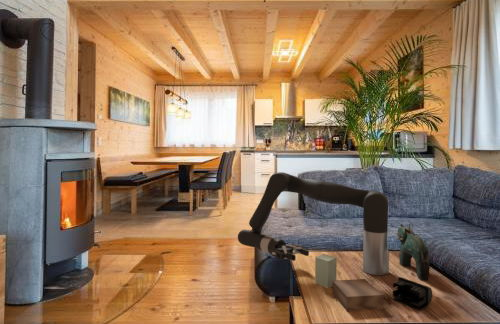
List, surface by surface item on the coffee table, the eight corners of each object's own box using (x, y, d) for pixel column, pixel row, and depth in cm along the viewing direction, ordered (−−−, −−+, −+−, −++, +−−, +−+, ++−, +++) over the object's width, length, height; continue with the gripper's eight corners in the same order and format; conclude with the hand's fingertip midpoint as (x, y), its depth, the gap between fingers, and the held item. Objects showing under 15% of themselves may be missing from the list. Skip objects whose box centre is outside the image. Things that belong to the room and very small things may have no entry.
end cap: (432, 305, 100) (433, 285, 100) (421, 312, 96) (421, 290, 96) (402, 293, 109) (403, 274, 108) (391, 299, 105) (391, 279, 104)
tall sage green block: (323, 278, 121) (324, 253, 120) (336, 283, 116) (336, 257, 116) (315, 283, 117) (315, 257, 116) (327, 288, 113) (328, 261, 112)
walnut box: (364, 292, 110) (364, 278, 110) (383, 310, 98) (383, 294, 98) (332, 294, 108) (332, 280, 108) (347, 312, 96) (347, 296, 96)
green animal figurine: (395, 262, 138) (396, 218, 138) (409, 262, 138) (410, 218, 137) (417, 281, 119) (418, 230, 118) (434, 281, 118) (436, 230, 118)
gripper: (261, 240, 132) (290, 250, 120) (283, 234, 141) (312, 243, 129) (261, 257, 132) (290, 269, 120) (283, 250, 142) (312, 260, 130)
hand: (301, 255), depth 125 cm, fingers open, 8 cm apart
